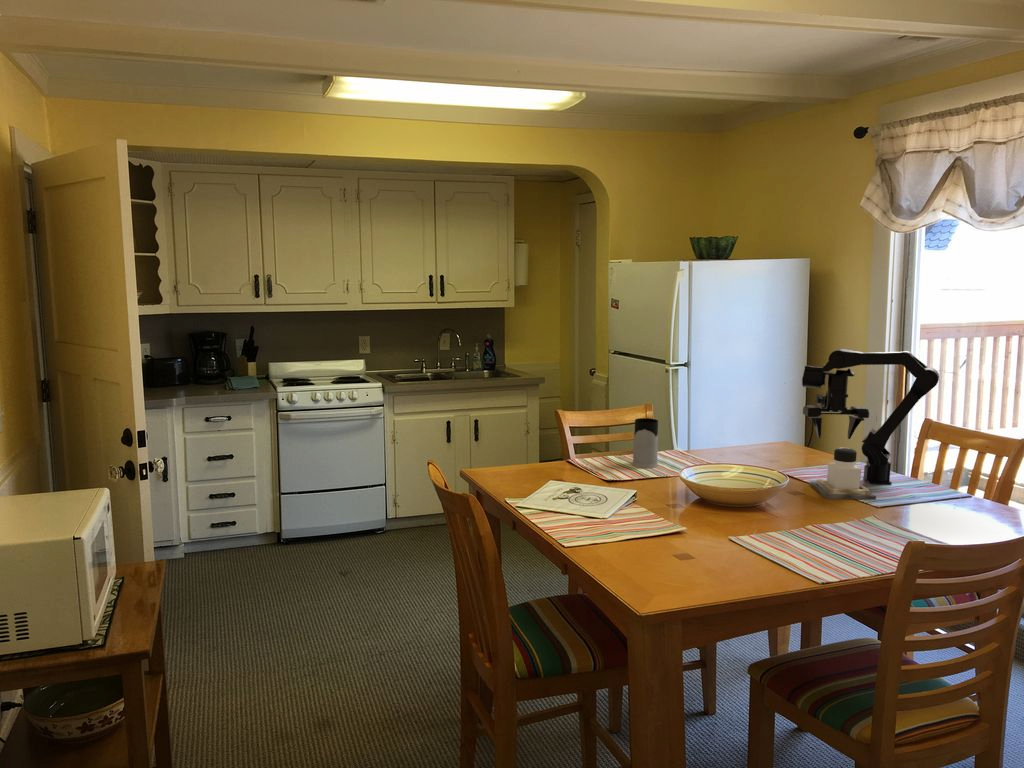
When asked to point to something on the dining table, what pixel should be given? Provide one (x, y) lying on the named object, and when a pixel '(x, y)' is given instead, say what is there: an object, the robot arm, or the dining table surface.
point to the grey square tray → (841, 491)
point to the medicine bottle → (844, 470)
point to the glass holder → (645, 443)
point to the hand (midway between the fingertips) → (833, 438)
